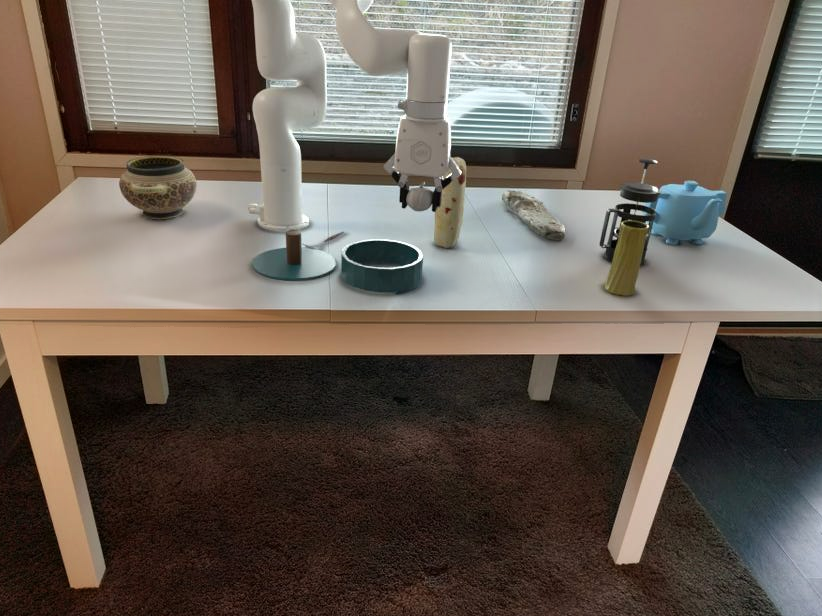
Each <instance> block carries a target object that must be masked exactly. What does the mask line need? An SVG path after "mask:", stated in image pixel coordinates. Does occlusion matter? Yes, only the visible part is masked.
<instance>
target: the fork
mask: <svg viewBox="0 0 822 616" xmlns="http://www.w3.org/2000/svg"><path fill="white" fill-rule="evenodd" d="M344 233H345V231H341V232H338V233H337V234H334V235H331V236H329V237H327V238H326V239H325V240H324V241H322V243H323V244H324V243H326V242H329V241H332V240H334V239H336V238H337V237H338V236H340V235H342V234H344ZM302 246H304V247H305V248H311V249H316V250H317V248H316V247H314V246H312V245H309V244H304V243H302Z"/></svg>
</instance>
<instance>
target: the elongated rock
mask: <svg viewBox="0 0 822 616" xmlns="http://www.w3.org/2000/svg"><path fill="white" fill-rule="evenodd" d="M501 200H502V201H503V203H504V204H505V206H506V207H507V208H508V209H507V211H508V212H511V213H513V214H514V216H516V217H517V218H520V220H521V221H522V223H525V224H526V225H527V226H528V227H529V228H530V229H531V230H532V231H533V232H534V233H535V234H537V235H538V236H541V237H543V238H545V239H547V240H553V241H561V240H564V239H565V236H566V228H565V225H563V223H561V222H560V221H559V220H558V218H557V217H555V215H553V214H552V212H550V211H549V210H548V209H547V207H546V205H545V204H544V202H543V201H540V200H539V199H537V198H536V197H535V196H531V195H529V194H527V193H526V192H523V191H521V190H514V189H508V190H507V189H506V190H505V191H503V192H502V194H501Z"/></svg>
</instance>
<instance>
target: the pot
mask: <svg viewBox="0 0 822 616" xmlns="http://www.w3.org/2000/svg"><path fill="white" fill-rule="evenodd" d="M340 253H341V254H340V269H341V270H340V275H341V276H340V277H341V279H342V281H344V283H345V284H347V285H349V286H350V287H352V288H355V289H358V290H360V291H361V290H362V291H364V292H365V291H366V292H372V293H395V295H400V294H405V293H408V292H411V291H413V290H415V289H416V288H418V287H419V286H420V285H421V282H422V279H423V266H424V254H423V251H422V250H421V249H419V247H417V246H415V245H412V244H410V243H407V242H404V241H399V240H393V239H392V240H391V239H384V238H383V239H379V238H376V239H375V238H374V239H373V238H372V239H371V238H370V239H363V240H359V241H354V242H351V243H349V244H347V245H345V246H344V247H342V249H341V251H340ZM368 263H369V264H370V263H388V264H394V265H397V266H393V267H377V266H368V265H366V264H368ZM364 264H365V265H364Z"/></svg>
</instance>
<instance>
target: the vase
mask: <svg viewBox="0 0 822 616" xmlns="http://www.w3.org/2000/svg"><path fill="white" fill-rule="evenodd" d="M648 228H649V226H648V225H647V222H646V223H643V222H640V221H633V220H626V221H623V222H622V224H621V228H620V233H619V238H618V242H617V246H616V249H615V253H614V257H613V261H612V263H610V264H611V265H610V268H609V271H608V275H607V279H606V282H605V285H604V289H605V291H607V292H608V293H610V294H613V295H617V296H622V297H629V296H633V295H634V294H635V293H636V284H637V281H638V277H639V272H640V267H641V266H640V263H641V259H642V254H643V249H644V245H645V240H646V236H647V231H648Z"/></svg>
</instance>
